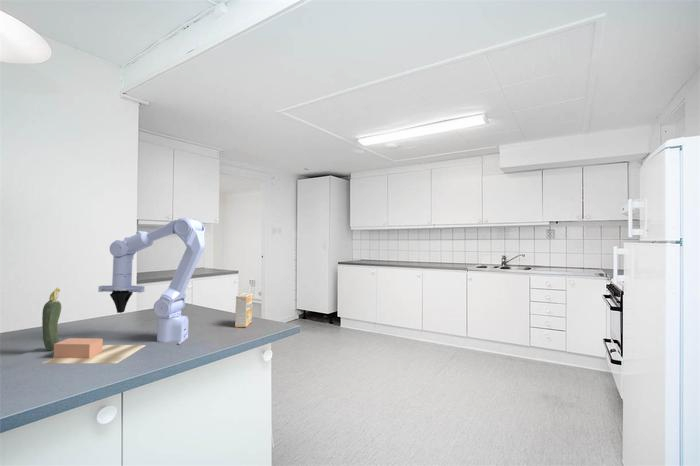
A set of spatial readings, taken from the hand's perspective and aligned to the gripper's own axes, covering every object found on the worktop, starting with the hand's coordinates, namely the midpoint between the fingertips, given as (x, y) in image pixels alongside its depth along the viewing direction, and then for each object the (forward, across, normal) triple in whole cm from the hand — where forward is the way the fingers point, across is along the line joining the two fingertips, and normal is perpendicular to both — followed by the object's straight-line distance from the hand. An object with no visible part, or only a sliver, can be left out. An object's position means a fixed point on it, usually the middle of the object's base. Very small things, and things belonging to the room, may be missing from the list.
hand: (120, 312), depth 119 cm
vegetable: (+10, +12, +14) cm, 21 cm away
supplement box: (+10, -39, -19) cm, 45 cm away
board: (+9, -4, +17) cm, 20 cm away
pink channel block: (+9, +1, +18) cm, 20 cm away
